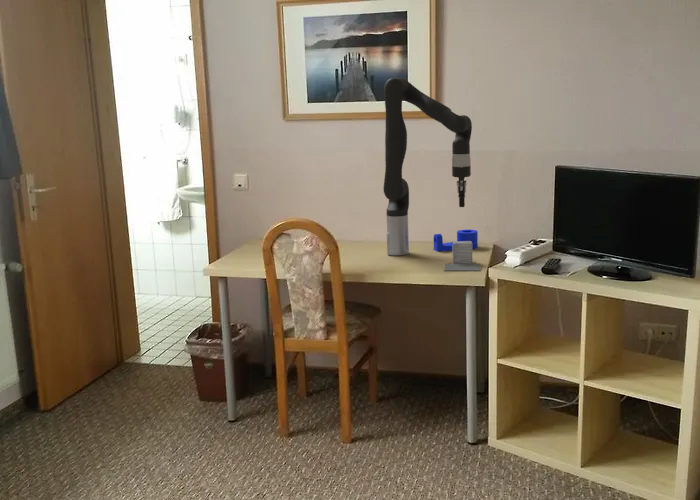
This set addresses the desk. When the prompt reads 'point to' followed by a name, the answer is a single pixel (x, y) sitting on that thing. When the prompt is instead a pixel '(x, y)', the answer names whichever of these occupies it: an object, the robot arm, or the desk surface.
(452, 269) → the mat
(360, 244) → the desk surface
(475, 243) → the bracket
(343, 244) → the desk surface
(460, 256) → the medicine box
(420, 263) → the desk surface
